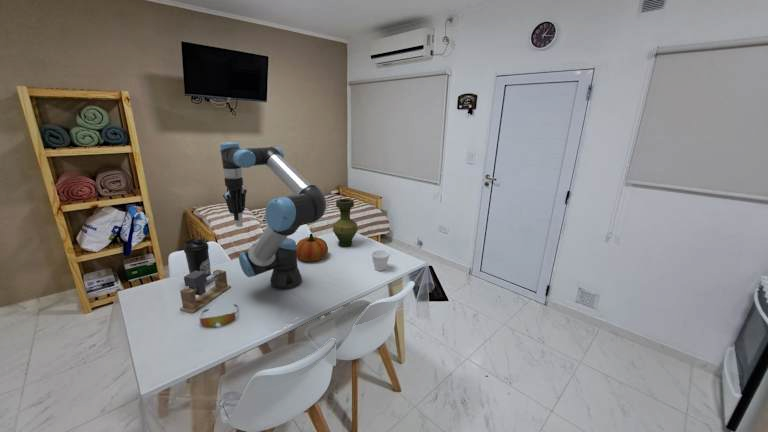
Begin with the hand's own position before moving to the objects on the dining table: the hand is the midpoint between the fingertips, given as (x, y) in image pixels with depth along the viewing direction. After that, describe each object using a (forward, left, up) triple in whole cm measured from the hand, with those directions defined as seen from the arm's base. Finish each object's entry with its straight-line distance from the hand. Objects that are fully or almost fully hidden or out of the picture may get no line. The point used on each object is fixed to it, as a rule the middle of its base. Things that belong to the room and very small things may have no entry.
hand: (239, 226), depth 148 cm
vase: (-30, -60, -30) cm, 73 cm away
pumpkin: (-18, -36, -30) cm, 50 cm away
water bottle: (+19, +8, -30) cm, 36 cm away
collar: (+6, +23, -24) cm, 34 cm away
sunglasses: (-9, +28, -30) cm, 42 cm away
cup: (-61, -34, -30) cm, 76 cm away
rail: (+6, +19, -29) cm, 35 cm away
